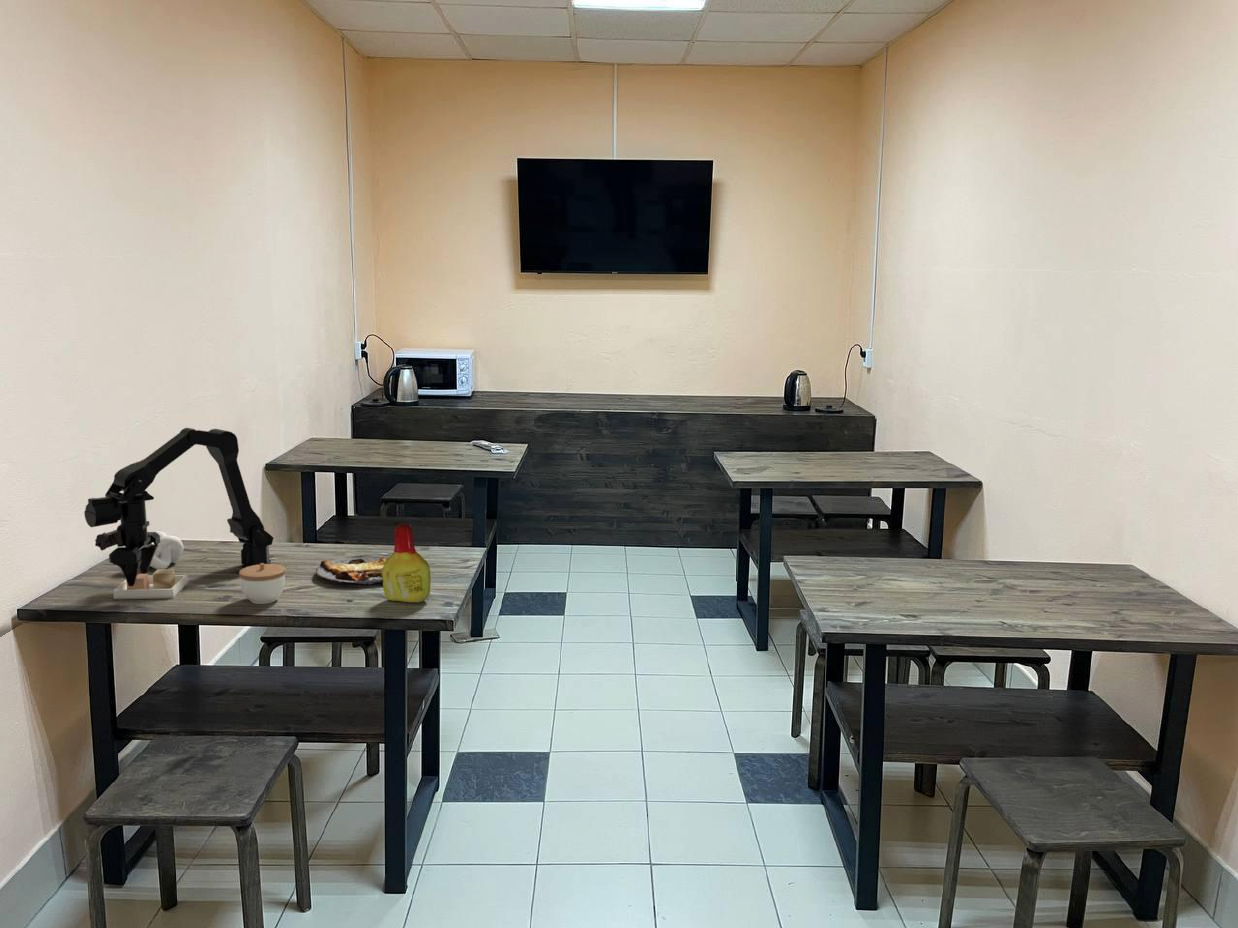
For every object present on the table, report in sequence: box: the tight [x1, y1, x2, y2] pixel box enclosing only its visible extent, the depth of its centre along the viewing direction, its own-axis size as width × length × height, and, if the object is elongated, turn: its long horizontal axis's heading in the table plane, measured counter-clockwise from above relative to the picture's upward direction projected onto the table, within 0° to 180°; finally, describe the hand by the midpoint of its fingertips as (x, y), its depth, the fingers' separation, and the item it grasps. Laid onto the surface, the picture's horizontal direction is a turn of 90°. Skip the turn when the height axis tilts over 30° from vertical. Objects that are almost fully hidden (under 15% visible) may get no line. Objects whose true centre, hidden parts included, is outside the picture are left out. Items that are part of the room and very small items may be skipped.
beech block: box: [152, 568, 176, 589], centre depth 246 cm, size 4×4×4 cm
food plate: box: [315, 554, 390, 586], centre depth 262 cm, size 25×23×4 cm
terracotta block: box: [127, 573, 150, 590], centre depth 241 cm, size 4×4×4 cm
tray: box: [112, 574, 189, 600], centre depth 244 cm, size 14×12×2 cm
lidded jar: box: [238, 563, 286, 605], centre depth 239 cm, size 11×11×9 cm
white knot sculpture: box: [149, 530, 184, 570], centre depth 263 cm, size 11×12×9 cm
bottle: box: [381, 523, 431, 603], centre depth 240 cm, size 12×6×20 cm, turn 83°
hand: (137, 580), depth 241 cm, fingers open, 9 cm apart
